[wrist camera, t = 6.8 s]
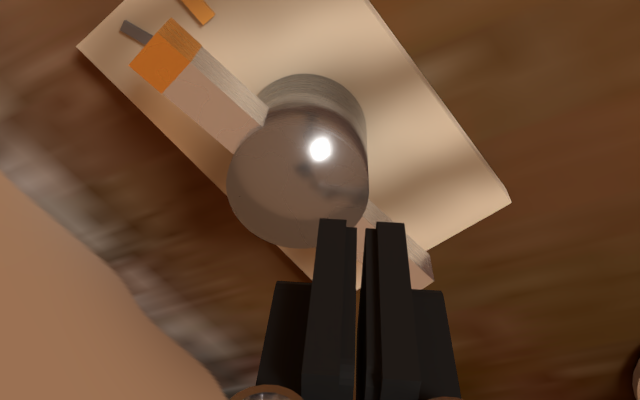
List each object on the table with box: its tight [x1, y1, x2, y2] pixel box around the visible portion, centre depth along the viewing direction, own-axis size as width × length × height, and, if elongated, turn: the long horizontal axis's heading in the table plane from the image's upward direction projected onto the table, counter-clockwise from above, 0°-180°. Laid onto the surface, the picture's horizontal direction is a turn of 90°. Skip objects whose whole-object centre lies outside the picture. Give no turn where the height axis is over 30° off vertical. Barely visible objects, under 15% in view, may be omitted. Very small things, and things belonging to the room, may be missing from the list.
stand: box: [76, 0, 512, 290], centre depth 30 cm, size 20×12×2 cm, turn 39°
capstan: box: [128, 17, 434, 290], centre depth 27 cm, size 16×6×6 cm, turn 45°
